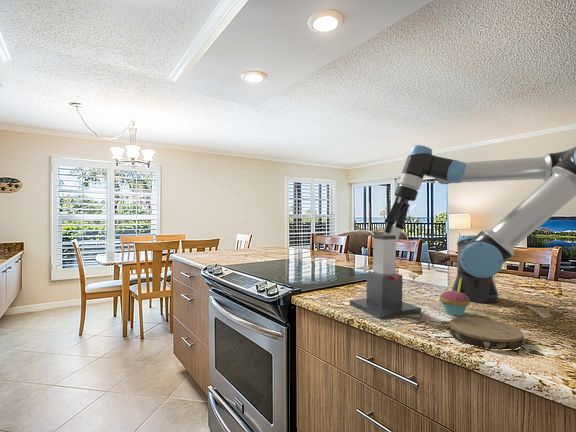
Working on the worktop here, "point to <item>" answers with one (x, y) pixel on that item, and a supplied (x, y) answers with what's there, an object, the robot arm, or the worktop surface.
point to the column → (384, 255)
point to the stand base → (384, 297)
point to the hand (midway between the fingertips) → (388, 243)
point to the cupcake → (455, 301)
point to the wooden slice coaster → (486, 333)
